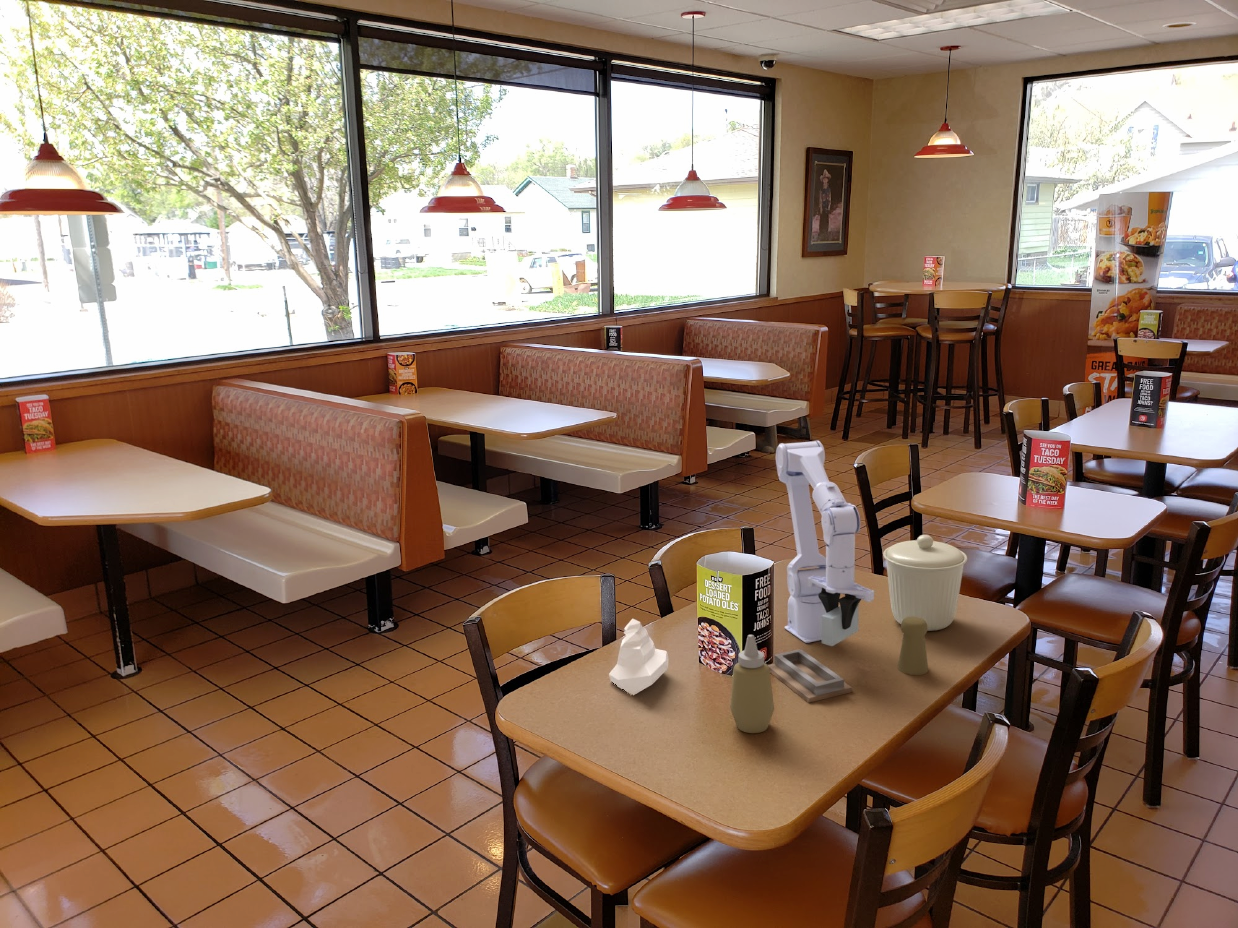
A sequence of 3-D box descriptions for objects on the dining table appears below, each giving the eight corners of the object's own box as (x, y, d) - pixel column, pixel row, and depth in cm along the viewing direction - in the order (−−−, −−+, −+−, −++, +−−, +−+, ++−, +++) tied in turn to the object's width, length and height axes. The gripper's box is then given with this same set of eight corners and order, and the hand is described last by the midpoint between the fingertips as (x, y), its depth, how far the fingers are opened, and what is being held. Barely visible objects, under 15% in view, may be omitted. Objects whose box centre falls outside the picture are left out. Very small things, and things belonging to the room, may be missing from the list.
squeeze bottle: (763, 741, 164) (762, 648, 160) (723, 730, 168) (720, 640, 164) (781, 721, 171) (780, 631, 167) (741, 711, 175) (739, 624, 171)
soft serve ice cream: (600, 701, 185) (583, 634, 184) (631, 675, 198) (615, 612, 198) (655, 696, 179) (637, 626, 179) (683, 670, 192) (667, 605, 192)
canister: (868, 626, 210) (869, 539, 205) (901, 601, 223) (903, 519, 219) (946, 645, 199) (949, 553, 194) (976, 618, 212) (980, 531, 207)
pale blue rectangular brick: (832, 646, 186) (832, 618, 185) (821, 643, 188) (821, 615, 186) (858, 630, 193) (858, 604, 191) (847, 627, 195) (848, 601, 193)
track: (766, 669, 192) (766, 656, 191) (807, 660, 195) (807, 646, 194) (808, 702, 177) (808, 688, 176) (852, 691, 180) (852, 677, 180)
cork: (895, 672, 188) (896, 622, 185) (900, 660, 193) (902, 611, 190) (925, 677, 185) (927, 626, 182) (930, 664, 190) (932, 615, 188)
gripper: (799, 561, 189) (799, 622, 192) (861, 576, 179) (860, 641, 182) (818, 552, 194) (818, 612, 197) (880, 567, 184) (879, 629, 187)
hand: (839, 625), depth 190 cm, fingers closed on pale blue rectangular brick, 2 cm apart
